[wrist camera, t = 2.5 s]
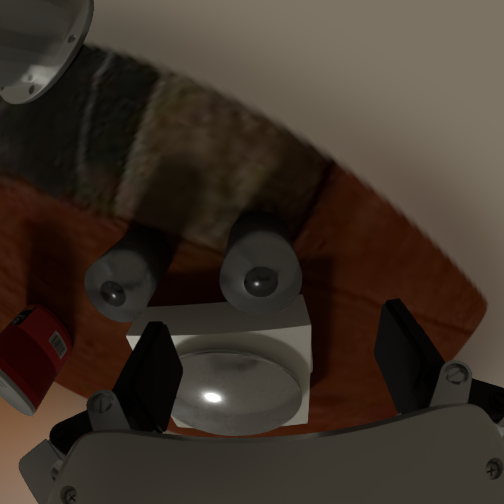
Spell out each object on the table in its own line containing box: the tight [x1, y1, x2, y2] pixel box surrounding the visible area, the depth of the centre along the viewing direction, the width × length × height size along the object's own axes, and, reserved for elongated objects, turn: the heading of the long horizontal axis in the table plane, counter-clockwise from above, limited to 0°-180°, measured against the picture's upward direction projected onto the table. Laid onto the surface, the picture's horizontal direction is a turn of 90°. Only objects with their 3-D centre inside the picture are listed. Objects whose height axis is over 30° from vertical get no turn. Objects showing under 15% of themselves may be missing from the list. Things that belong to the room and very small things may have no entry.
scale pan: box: [171, 348, 302, 436], centre depth 20 cm, size 12×12×1 cm
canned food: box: [0, 303, 72, 416], centre depth 19 cm, size 8×8×11 cm
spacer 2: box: [219, 211, 302, 315], centre depth 17 cm, size 4×4×6 cm
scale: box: [126, 294, 313, 428], centre depth 23 cm, size 14×14×4 cm
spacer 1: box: [84, 227, 171, 322], centre depth 18 cm, size 4×4×6 cm
